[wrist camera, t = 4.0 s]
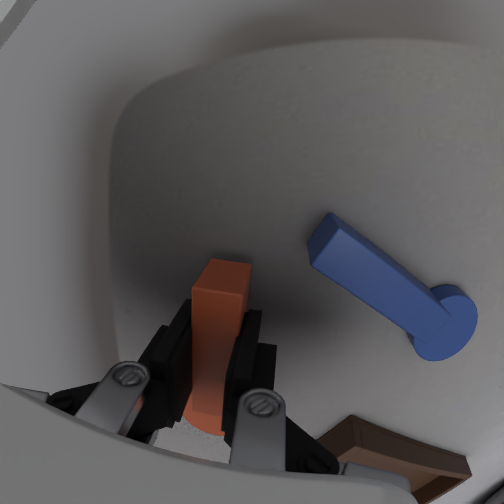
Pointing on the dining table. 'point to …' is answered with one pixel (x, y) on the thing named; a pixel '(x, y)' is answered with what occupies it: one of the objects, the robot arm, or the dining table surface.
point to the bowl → (496, 498)
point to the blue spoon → (394, 290)
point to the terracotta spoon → (214, 337)
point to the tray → (398, 457)
